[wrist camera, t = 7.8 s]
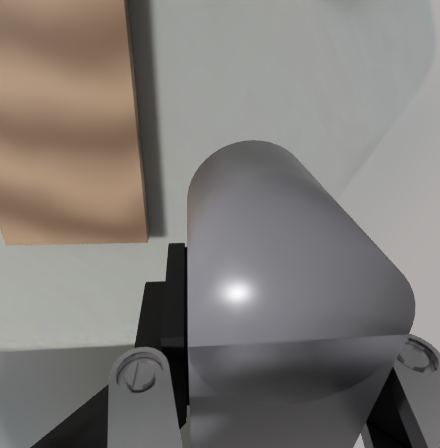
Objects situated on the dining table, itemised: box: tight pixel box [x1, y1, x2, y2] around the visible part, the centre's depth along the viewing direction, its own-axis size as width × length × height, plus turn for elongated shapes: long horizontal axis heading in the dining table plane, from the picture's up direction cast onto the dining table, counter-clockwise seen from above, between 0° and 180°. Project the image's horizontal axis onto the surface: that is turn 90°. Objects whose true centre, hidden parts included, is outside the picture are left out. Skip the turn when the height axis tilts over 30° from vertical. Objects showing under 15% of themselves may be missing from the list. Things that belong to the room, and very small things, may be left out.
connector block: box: [187, 140, 415, 448], centre depth 10 cm, size 12×4×6 cm, turn 178°
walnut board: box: [0, 0, 149, 245], centre depth 23 cm, size 20×12×2 cm, turn 178°
